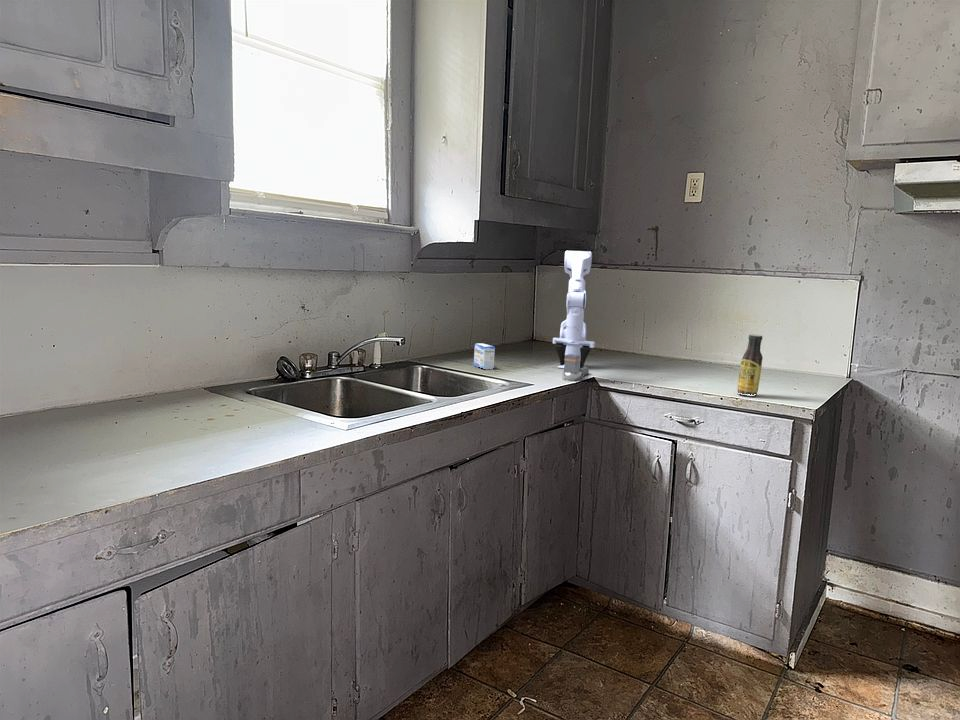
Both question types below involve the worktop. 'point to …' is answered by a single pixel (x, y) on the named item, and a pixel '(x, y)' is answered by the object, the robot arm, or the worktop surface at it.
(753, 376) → the sauce bottle
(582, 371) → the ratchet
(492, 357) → the medicine box
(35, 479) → the worktop surface
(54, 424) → the worktop surface
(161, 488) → the worktop surface
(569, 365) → the socket
